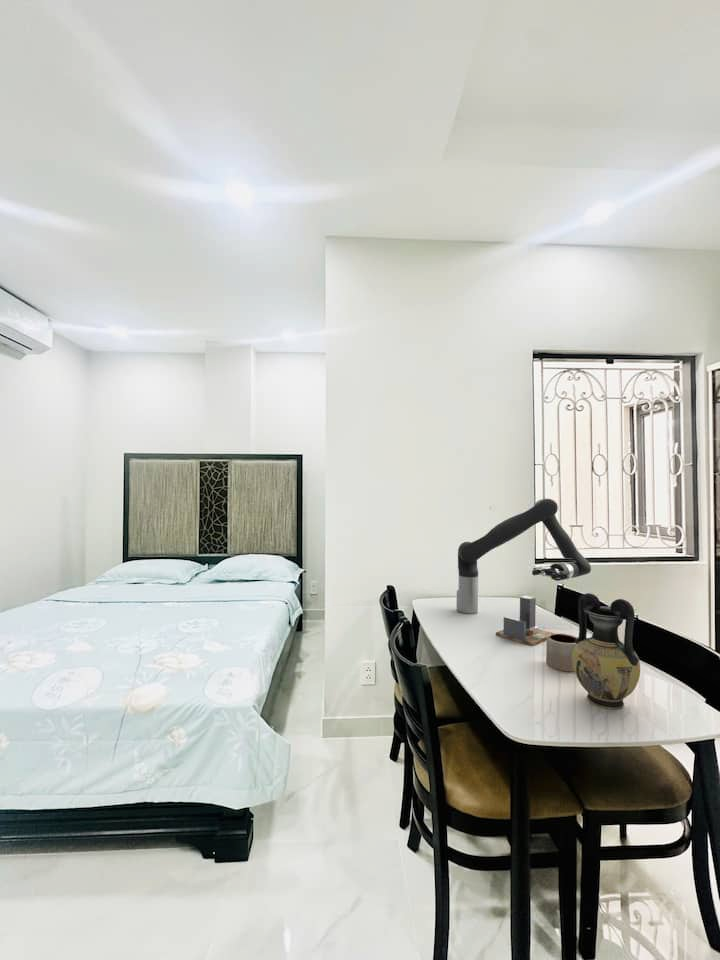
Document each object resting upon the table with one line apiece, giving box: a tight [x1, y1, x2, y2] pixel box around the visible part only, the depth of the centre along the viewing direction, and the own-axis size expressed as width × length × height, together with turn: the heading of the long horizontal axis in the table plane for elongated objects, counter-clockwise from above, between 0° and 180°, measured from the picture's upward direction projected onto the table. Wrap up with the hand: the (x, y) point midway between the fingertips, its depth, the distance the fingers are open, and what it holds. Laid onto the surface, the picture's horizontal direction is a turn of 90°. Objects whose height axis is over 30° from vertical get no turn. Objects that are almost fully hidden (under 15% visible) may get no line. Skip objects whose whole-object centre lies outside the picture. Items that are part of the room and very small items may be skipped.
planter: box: [545, 632, 578, 673], centre depth 157 cm, size 11×11×10 cm
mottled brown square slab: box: [495, 628, 554, 647], centre depth 188 cm, size 16×18×1 cm
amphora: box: [572, 593, 641, 710], centre depth 131 cm, size 18×17×30 cm
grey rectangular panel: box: [503, 615, 526, 640], centre depth 183 cm, size 9×1×7 cm, turn 40°
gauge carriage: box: [519, 595, 539, 635], centre depth 187 cm, size 7×11×14 cm, turn 130°
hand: (542, 574), depth 197 cm, fingers open, 8 cm apart
